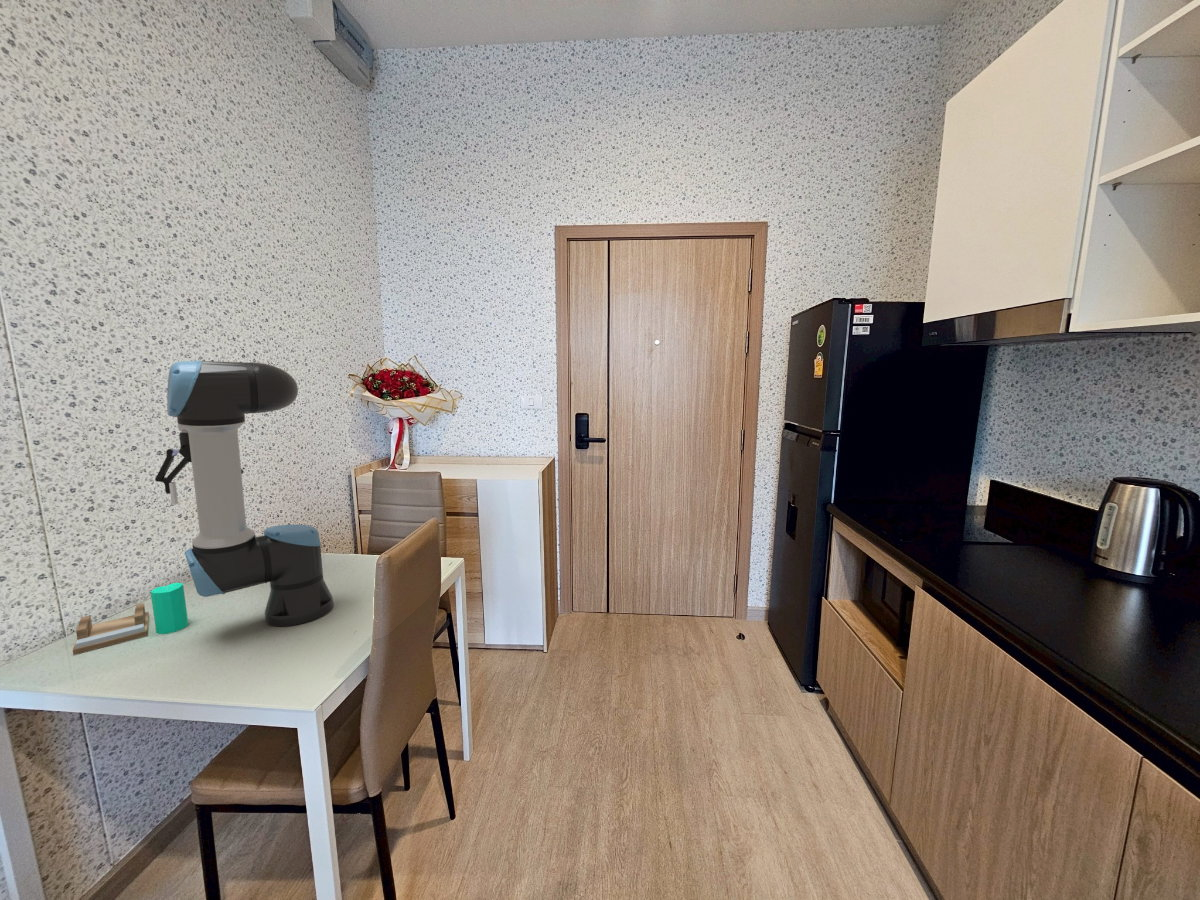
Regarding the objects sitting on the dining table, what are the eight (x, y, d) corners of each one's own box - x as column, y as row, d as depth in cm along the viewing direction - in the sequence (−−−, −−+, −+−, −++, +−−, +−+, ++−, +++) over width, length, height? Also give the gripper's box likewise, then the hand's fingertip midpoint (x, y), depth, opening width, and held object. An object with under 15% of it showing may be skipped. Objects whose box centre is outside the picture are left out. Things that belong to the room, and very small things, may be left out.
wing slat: (144, 631, 113) (143, 627, 113) (76, 648, 106) (75, 644, 106) (144, 627, 115) (143, 623, 115) (77, 644, 108) (77, 639, 108)
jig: (147, 635, 114) (145, 619, 113) (73, 655, 106) (70, 637, 105) (149, 615, 124) (146, 600, 123) (81, 632, 116) (79, 615, 115)
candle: (192, 620, 121) (187, 575, 120) (182, 631, 116) (175, 584, 114) (163, 624, 119) (157, 579, 117) (150, 636, 113) (144, 588, 112)
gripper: (249, 428, 149) (256, 494, 152) (144, 432, 138) (154, 504, 140) (245, 429, 143) (252, 498, 145) (134, 434, 131) (144, 509, 134)
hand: (204, 501), depth 143 cm, fingers open, 13 cm apart
